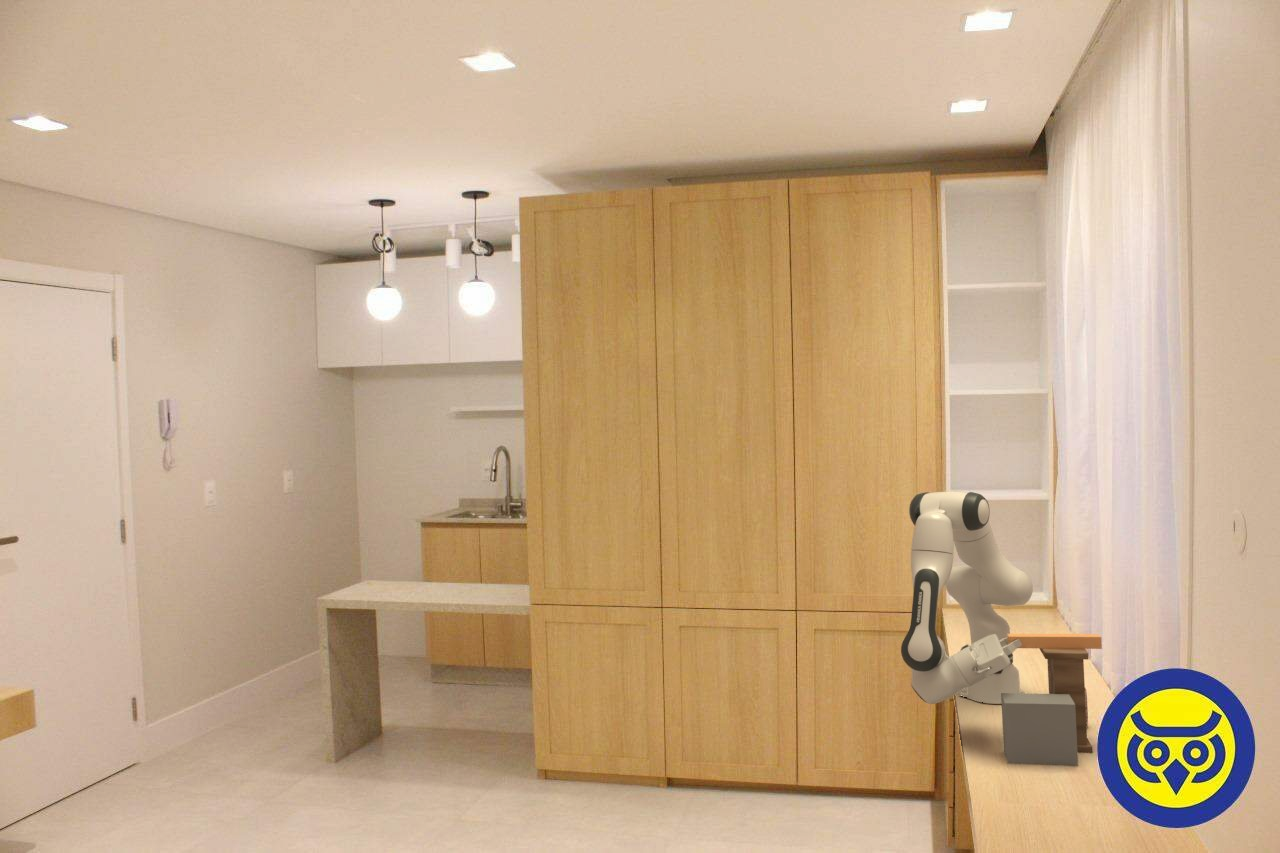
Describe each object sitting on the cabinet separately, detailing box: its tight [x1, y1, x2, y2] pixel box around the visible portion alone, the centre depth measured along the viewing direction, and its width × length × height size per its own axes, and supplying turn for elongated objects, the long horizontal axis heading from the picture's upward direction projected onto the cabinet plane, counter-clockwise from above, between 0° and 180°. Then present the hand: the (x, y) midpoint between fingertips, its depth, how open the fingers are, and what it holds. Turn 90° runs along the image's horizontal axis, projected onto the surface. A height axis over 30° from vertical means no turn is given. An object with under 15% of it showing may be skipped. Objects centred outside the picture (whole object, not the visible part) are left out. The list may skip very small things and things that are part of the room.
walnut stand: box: [1038, 648, 1094, 754], centre depth 248 cm, size 12×10×25 cm
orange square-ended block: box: [1007, 633, 1103, 650], centre depth 248 cm, size 3×22×3 cm, turn 76°
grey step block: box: [1001, 692, 1079, 767], centre depth 240 cm, size 8×16×15 cm, turn 76°
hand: (1019, 639), depth 250 cm, fingers closed on orange square-ended block, 3 cm apart
